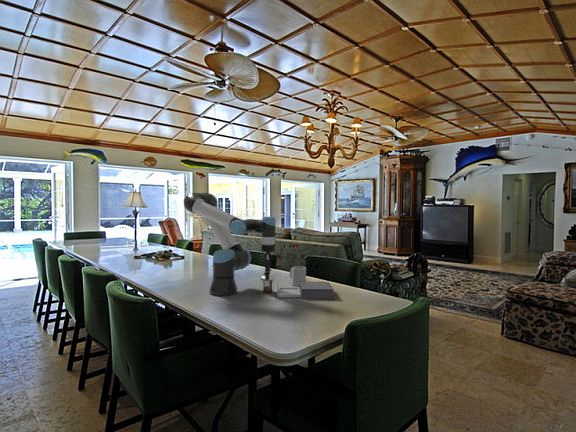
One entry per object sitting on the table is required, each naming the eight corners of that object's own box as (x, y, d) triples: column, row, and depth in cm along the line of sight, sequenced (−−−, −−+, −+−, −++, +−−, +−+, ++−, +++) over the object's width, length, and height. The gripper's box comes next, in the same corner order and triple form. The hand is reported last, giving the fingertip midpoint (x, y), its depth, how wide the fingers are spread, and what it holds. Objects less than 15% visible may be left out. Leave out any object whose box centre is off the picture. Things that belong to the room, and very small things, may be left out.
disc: (259, 280, 188) (259, 278, 188) (260, 277, 196) (260, 274, 196) (274, 281, 189) (274, 278, 189) (274, 278, 197) (274, 275, 197)
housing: (301, 298, 180) (301, 289, 180) (299, 290, 198) (299, 281, 198) (333, 298, 181) (333, 289, 181) (328, 290, 199) (328, 281, 199)
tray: (276, 297, 181) (277, 289, 181) (277, 289, 197) (277, 282, 197) (308, 297, 181) (308, 290, 181) (306, 290, 197) (306, 283, 197)
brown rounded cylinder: (263, 293, 190) (263, 282, 190) (263, 290, 195) (263, 280, 195) (272, 293, 190) (272, 282, 190) (272, 290, 195) (272, 280, 195)
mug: (308, 285, 211) (308, 267, 210) (298, 287, 205) (299, 269, 205) (295, 281, 219) (295, 264, 219) (285, 283, 214) (285, 266, 213)
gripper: (274, 246, 182) (273, 289, 182) (275, 242, 202) (274, 280, 203) (260, 246, 181) (259, 288, 182) (262, 241, 202) (261, 279, 203)
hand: (267, 284), depth 193 cm, fingers closed on disc, 8 cm apart
